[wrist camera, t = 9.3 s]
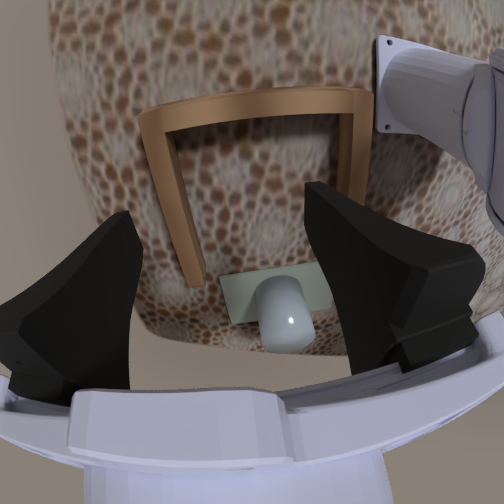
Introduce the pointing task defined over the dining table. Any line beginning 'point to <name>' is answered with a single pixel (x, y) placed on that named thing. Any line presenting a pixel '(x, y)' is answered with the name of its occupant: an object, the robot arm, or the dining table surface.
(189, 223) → the wooden frame
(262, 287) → the grey rounded cylinder
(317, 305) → the mat
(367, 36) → the dining table surface
